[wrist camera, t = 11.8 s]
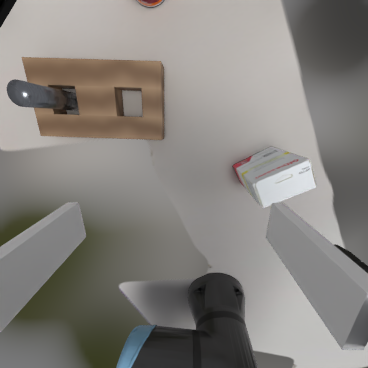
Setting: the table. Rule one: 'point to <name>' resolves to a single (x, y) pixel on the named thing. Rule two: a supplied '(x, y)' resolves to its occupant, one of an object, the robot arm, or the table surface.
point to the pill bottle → (150, 2)
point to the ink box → (275, 175)
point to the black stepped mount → (5, 9)
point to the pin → (41, 96)
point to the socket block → (100, 97)
